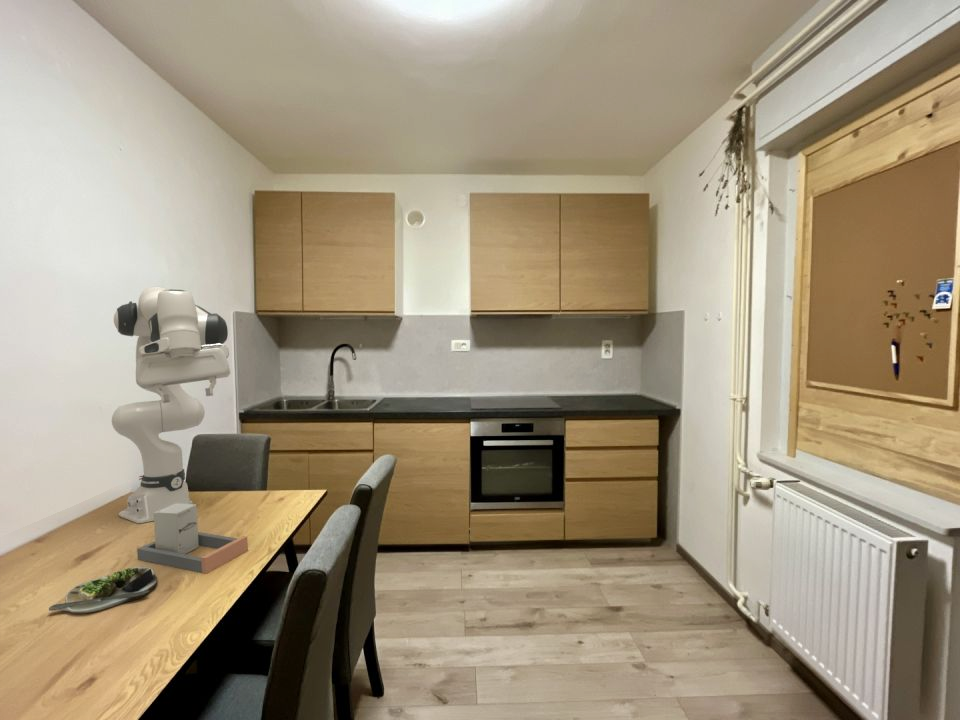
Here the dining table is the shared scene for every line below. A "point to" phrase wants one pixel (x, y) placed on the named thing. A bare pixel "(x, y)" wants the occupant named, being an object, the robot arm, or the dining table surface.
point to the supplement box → (176, 528)
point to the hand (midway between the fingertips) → (188, 398)
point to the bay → (205, 564)
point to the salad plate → (109, 590)
